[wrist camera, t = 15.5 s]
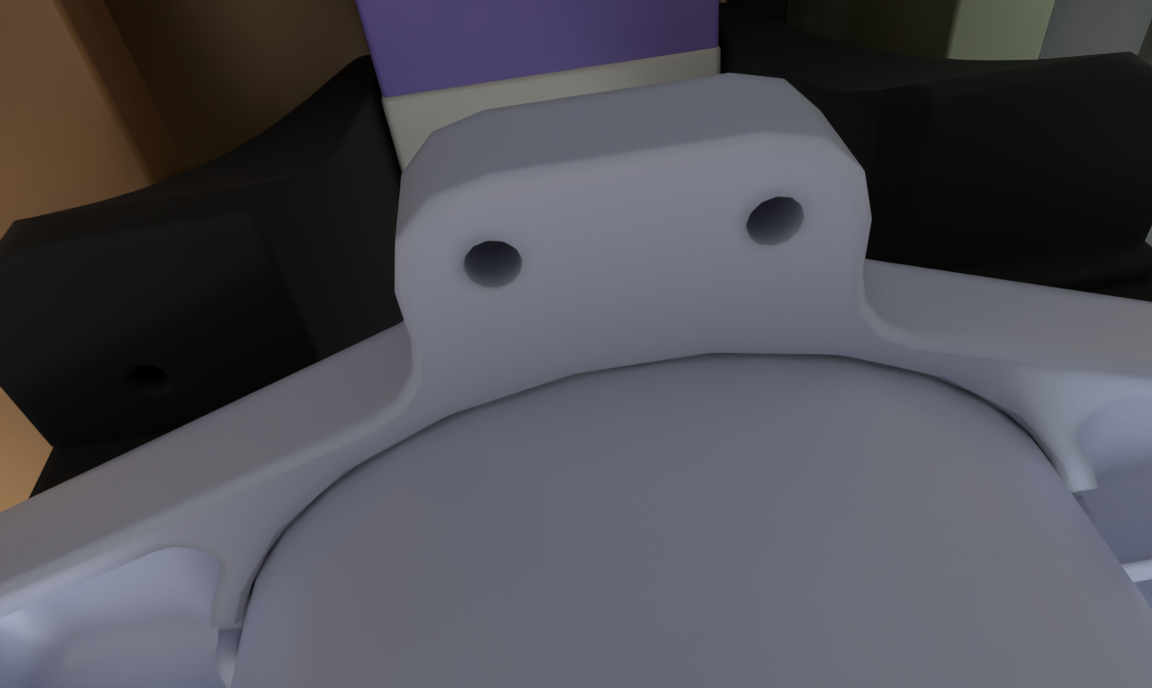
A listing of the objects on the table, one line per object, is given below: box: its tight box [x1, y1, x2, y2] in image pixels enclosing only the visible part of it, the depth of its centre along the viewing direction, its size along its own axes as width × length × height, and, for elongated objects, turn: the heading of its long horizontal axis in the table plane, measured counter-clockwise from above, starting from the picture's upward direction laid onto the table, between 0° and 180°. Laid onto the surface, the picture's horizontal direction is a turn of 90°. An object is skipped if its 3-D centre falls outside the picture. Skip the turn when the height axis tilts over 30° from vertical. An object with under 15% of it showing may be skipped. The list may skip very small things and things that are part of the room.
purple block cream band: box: [355, 0, 721, 173], centre depth 12 cm, size 4×8×4 cm, turn 6°
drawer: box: [103, 0, 1152, 170], centre depth 12 cm, size 19×12×6 cm, turn 96°
